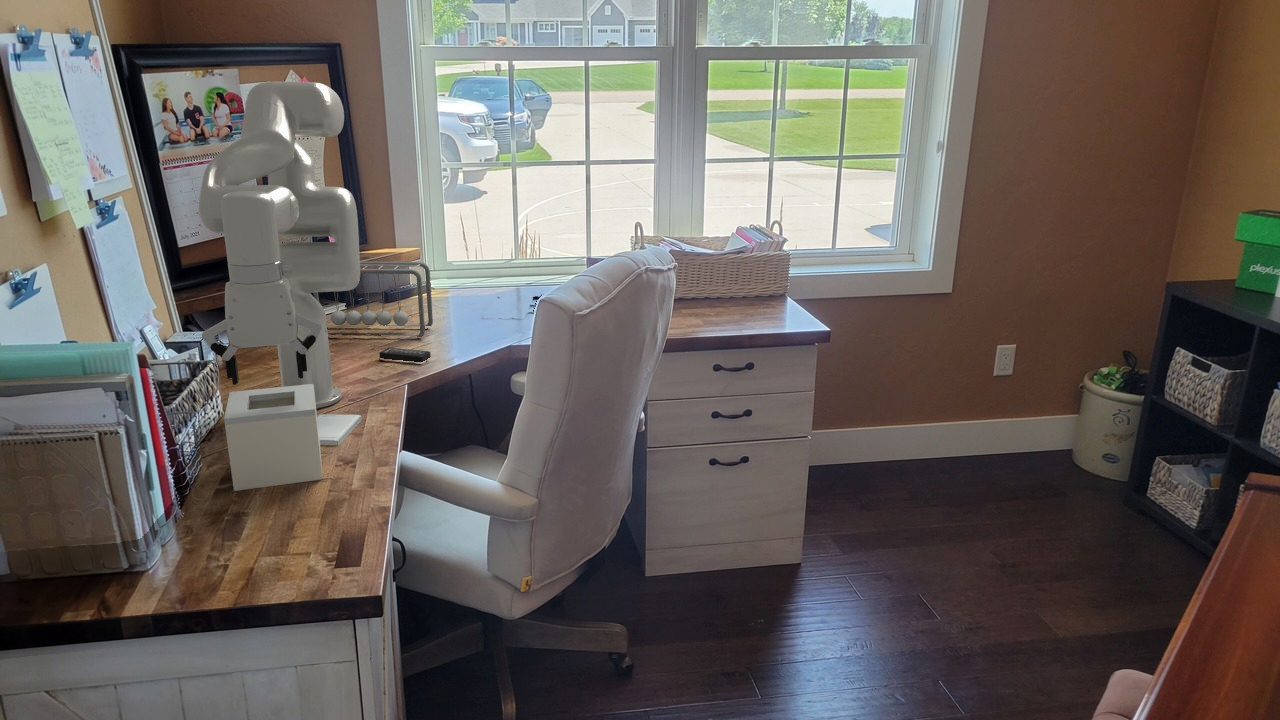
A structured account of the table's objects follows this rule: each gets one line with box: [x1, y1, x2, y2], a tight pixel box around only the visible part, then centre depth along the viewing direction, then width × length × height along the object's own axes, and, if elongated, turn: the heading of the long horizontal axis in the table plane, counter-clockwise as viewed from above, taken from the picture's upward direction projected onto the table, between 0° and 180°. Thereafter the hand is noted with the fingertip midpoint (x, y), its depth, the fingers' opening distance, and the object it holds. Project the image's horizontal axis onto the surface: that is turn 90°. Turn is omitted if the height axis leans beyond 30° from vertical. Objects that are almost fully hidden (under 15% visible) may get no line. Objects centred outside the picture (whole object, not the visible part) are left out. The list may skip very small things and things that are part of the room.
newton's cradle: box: [313, 261, 434, 338], centre depth 222 cm, size 30×10×18 cm, turn 91°
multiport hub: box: [378, 347, 432, 362], centre depth 203 cm, size 4×11×2 cm, turn 75°
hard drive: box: [317, 413, 363, 446], centre depth 161 cm, size 2×8×12 cm
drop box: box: [223, 384, 323, 492], centre depth 143 cm, size 13×13×12 cm
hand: (268, 379), depth 141 cm, fingers open, 9 cm apart
